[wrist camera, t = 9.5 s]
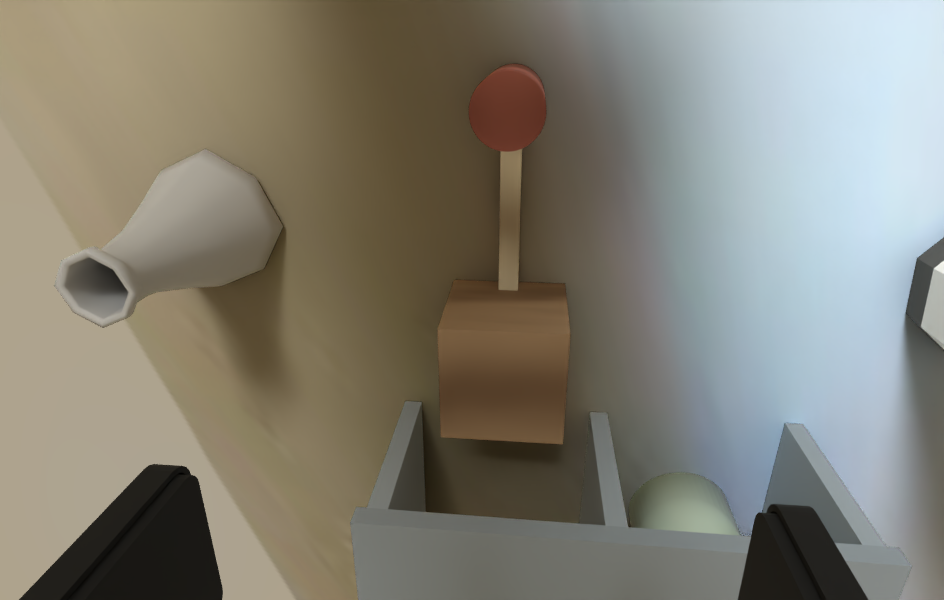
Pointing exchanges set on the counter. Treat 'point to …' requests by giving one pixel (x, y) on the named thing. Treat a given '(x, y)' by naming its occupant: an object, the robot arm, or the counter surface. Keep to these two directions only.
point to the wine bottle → (929, 293)
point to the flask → (175, 240)
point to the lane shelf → (589, 536)
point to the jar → (682, 505)
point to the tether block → (505, 299)
